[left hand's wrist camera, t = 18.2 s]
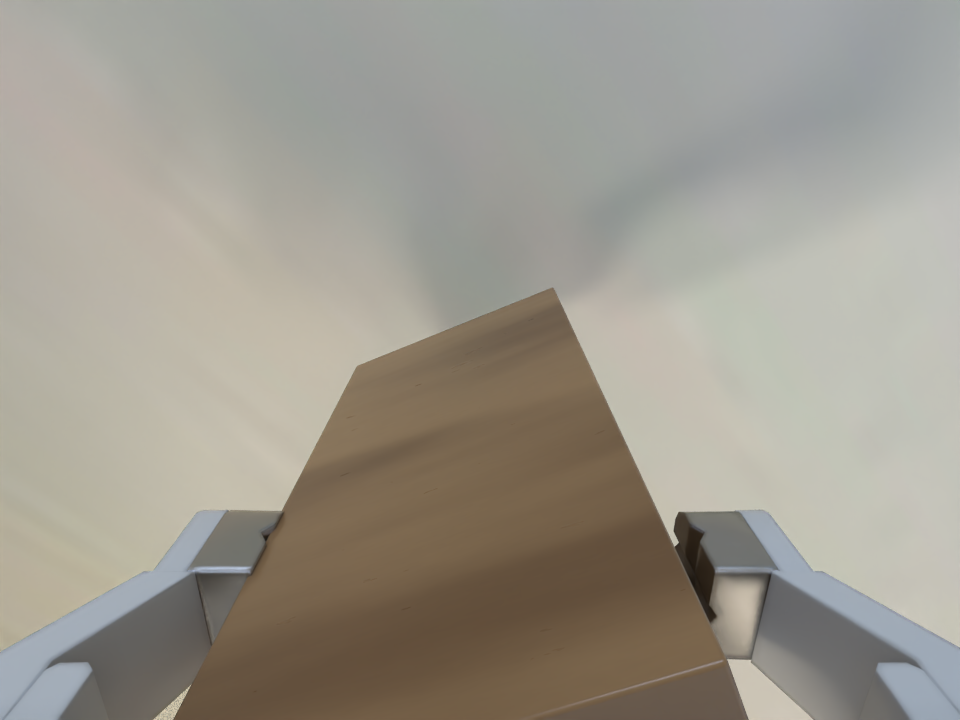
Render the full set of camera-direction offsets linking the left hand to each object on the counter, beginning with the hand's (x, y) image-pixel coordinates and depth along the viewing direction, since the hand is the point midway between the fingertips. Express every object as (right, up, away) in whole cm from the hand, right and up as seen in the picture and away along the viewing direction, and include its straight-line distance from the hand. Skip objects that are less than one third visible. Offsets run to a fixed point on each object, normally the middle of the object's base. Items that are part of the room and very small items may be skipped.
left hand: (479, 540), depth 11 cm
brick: (0, +2, +6) cm, 7 cm away
